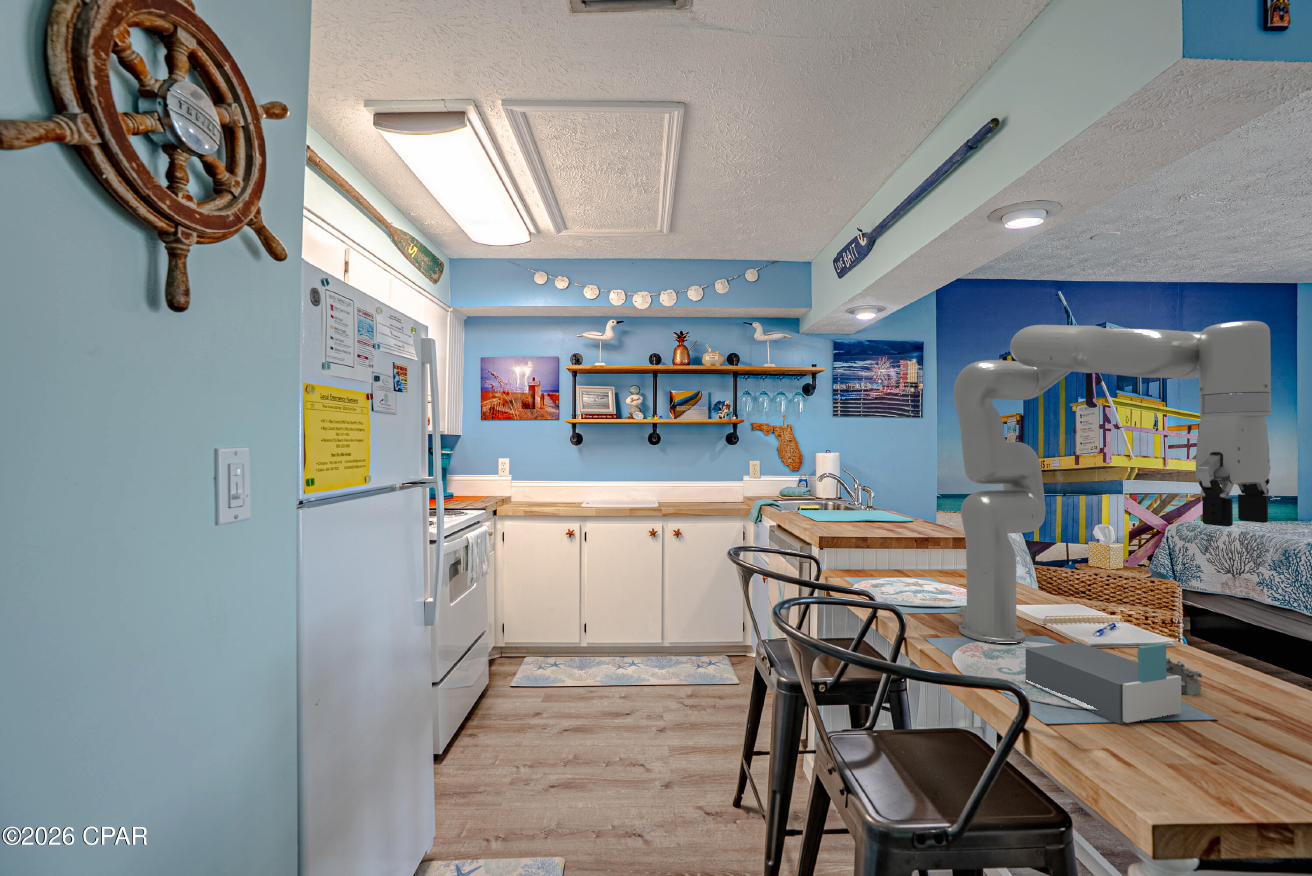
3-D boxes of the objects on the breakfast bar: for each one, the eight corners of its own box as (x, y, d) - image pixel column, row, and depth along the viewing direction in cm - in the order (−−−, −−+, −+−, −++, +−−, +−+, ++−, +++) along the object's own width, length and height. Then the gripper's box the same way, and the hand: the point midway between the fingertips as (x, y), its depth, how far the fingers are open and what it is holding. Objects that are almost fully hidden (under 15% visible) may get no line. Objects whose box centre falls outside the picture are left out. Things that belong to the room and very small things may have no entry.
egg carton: (1205, 700, 98) (1205, 675, 98) (1146, 690, 101) (1146, 666, 101) (1187, 677, 107) (1187, 655, 107) (1134, 669, 111) (1134, 647, 111)
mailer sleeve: (1025, 682, 104) (1025, 648, 104) (1077, 674, 108) (1077, 641, 108) (1119, 724, 89) (1119, 684, 89) (1176, 713, 92) (1176, 675, 92)
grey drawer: (1029, 679, 104) (1028, 618, 104) (1078, 672, 107) (1078, 612, 107) (1127, 722, 88) (1126, 650, 88) (1181, 712, 91) (1181, 642, 91)
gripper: (1232, 409, 94) (1233, 517, 94) (1170, 407, 87) (1171, 523, 87) (1298, 407, 87) (1300, 523, 87) (1236, 404, 80) (1237, 530, 80)
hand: (1235, 523), depth 87 cm, fingers open, 9 cm apart
